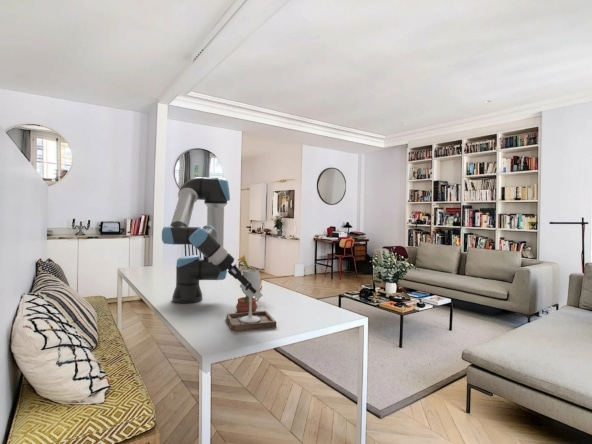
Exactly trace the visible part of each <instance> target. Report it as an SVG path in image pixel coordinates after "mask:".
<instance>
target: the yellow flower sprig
mask: <svg viewBox="0 0 592 444" xmlns="http://www.w3.org/2000/svg"><path fill="white" fill-rule="evenodd" d="M243 259H244V260H243ZM241 260H242V261H245V262H246V263H247V261H246V255H245V254H243V256H240V257H239V258H237V261H238V262H240V261H241ZM243 263H244V262H242V264H243ZM244 265H246V264H245V263H244V264H243V266H244ZM244 267H246V266H244ZM246 268H247V267H246ZM249 270H251V269H250V268H249ZM260 280H261V285H260V290H259V292H260V293H261V292H262V290H263V285H262V281H263V278H262V276H261V275H260ZM254 298H255V299H256V302H257V301H258V299H257V298H256V297H255V296H254Z"/></svg>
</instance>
